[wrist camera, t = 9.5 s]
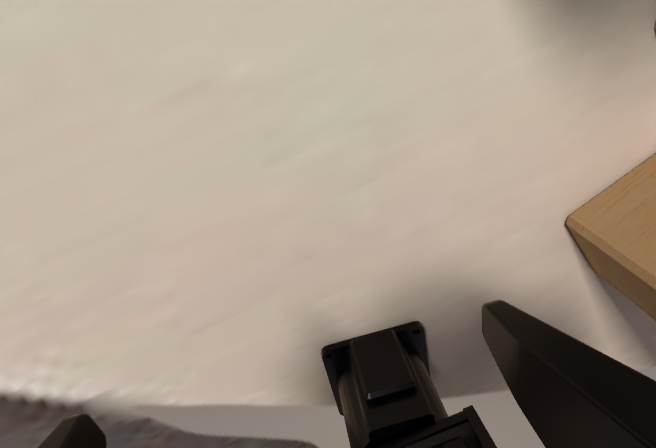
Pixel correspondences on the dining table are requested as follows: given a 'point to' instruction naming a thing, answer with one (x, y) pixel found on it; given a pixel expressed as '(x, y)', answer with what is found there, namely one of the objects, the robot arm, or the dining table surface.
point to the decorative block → (623, 234)
